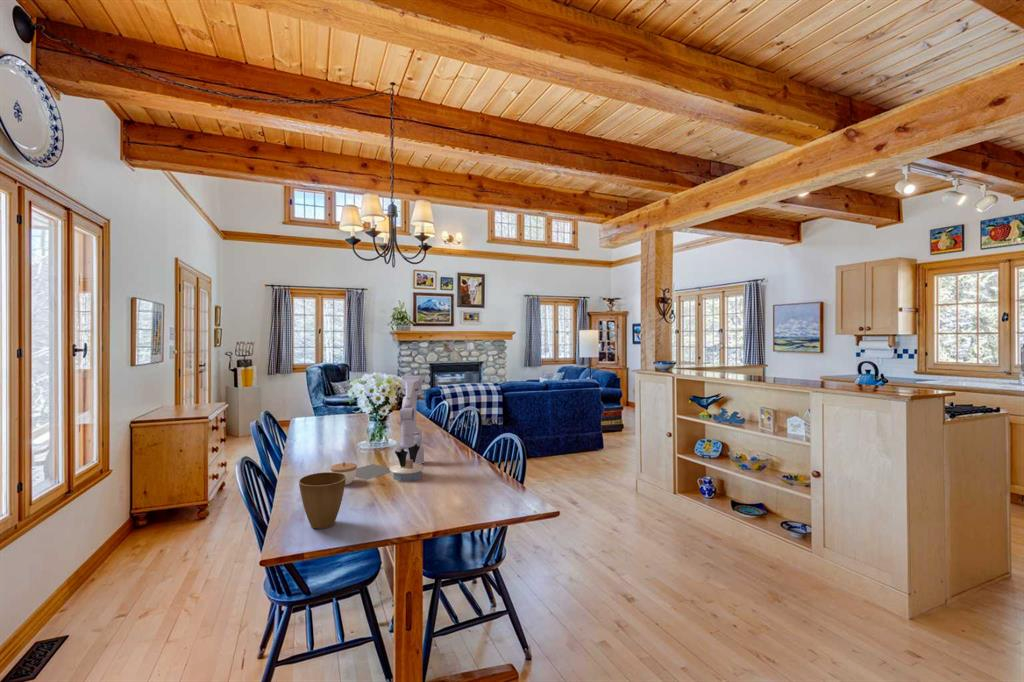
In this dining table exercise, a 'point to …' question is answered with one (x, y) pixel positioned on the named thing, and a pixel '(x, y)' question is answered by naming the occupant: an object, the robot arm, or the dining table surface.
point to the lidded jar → (346, 471)
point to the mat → (371, 471)
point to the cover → (407, 468)
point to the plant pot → (322, 497)
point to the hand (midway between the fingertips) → (407, 464)
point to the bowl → (408, 476)
